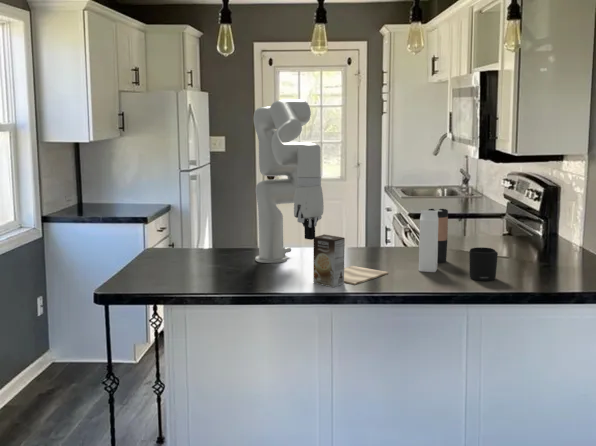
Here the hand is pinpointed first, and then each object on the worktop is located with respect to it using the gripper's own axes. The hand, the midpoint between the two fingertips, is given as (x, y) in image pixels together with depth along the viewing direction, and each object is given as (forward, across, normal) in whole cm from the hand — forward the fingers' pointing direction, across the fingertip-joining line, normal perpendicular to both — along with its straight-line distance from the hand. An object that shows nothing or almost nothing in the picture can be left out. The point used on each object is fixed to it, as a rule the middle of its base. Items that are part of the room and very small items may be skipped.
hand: (309, 238), depth 222 cm
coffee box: (+17, -10, -1) cm, 20 cm away
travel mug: (+17, -63, +10) cm, 66 cm away
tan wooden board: (+17, -24, -1) cm, 30 cm away
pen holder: (+17, -49, +36) cm, 64 cm away
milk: (+17, -48, +15) cm, 54 cm away
